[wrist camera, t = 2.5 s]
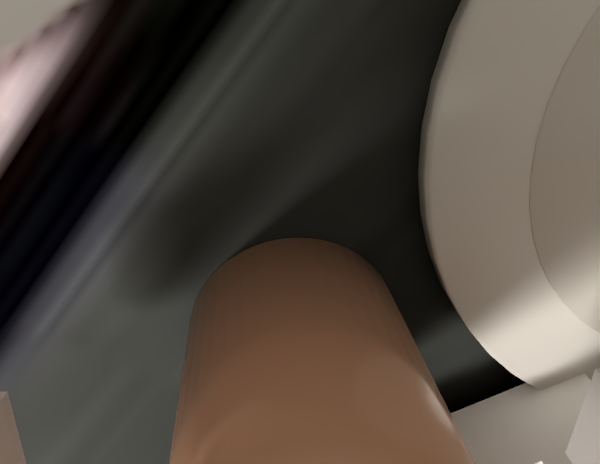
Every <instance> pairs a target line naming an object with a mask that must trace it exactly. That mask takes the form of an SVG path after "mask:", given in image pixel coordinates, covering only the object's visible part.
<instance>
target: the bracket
mask: <svg viewBox="0 0 600 464" xmlns="http://www.w3.org/2000/svg"><path fill="white" fill-rule="evenodd" d="M590 382H591V380H590V379H589V378H588V377H587V376H586V375H585V374H582V375H579V376H577V377H574V378H572V379H569V380H566V381H564V382H561V383H559V384H556V385H553V386H551V387H548V388H546V389H543V390H541V391H540V390H538V389H536V388H535V387H533V386H531V385H530V384H528V383H524V384H522V385H519V386H517V387H514V388H512V389H510V390H507V391H505V392H502V393H500V394H497V395H495V396H492V397H490V398H487V399H485V400H482V401H480V402H477V403H475V404H473V405H470V406H468V407H465V408H463V409H460V410H458V411H455V412H453V413H450V414H451V416H452V418H453V420H454V422H455V424H456V426H457V428H458V430H459V432H460V434H461V436H462V438H463V440H464V442H465V444H466V446H467V448H468V450H469V452H470V454H471V456H472V458H473V460H474V462H475V464H572V462H571V461H570V459H569V458H568V456H567V455H566V454H565V452H566V449H567V447H568V444H569V441H570V438H571V435H572V433H573V430H574V427H575V424H576V421H577V419H578V416H579V413H580V410H581V408H582V405H583V402H584V399H585V396H586V394H587V391H588V388H589V385H590Z"/></svg>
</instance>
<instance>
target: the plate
mask: <svg viewBox="0 0 600 464" xmlns="http://www.w3.org/2000/svg"><path fill="white" fill-rule="evenodd" d="M418 184H419V201H420V215H421V220H422V225H423V230H424V234H425V239H426V244H427V249H428V252H429V255H430V258H431V260H432V263H433V266H434V268H435V271H436V274H437V276H438V279H439V281H440V284H441V285H442V287H443V289H444V291H445V292H446V294H447V296H448V297H449V299H450V301H451V303H452V304H453V306H454V308H455V310H456V311H457V313H458V314H459V316H460V317H461V319H462V320H463V322H464V323H465V325H466V326H467V327H468V329H469V330H470V332H471V333H472V334H473V335H474V336H475V338H476V339H477V340H478V341H479V342H480V344H481V345H482V346H483V347H484V348H485V350H486V351H487V352H488V353H489V354H490V355H491V356H492V357H493V358H494V359H495V360H497V361H498V362H499V363H500V364H501V365H502V366H504V367H505V368H506V369H507V370H508V371H509V372H511V373H512V374H513V375H515V376H516V377H518V378H520V379H521V380H523V381H525V382H526V383H528V384H530V385H531V386H533V387H535V388H536V389H538V390H540V391H541V390H543V389H546V388H548V387H551V386H553V385H556V384H559V383H561V382H564V381H566V380H569V379H572V378H574V377H577V376H579V375H582V374H585V375H586V376H587V377H588V378H589V379H590V380H592V377H593V374H594V371H595V369H600V0H461V1H460V4H459V6H458V8H457V10H456V12H455V15H454V17H453V19H452V21H451V23H450V25H449V28H448V30H447V33H446V36H445V39H444V42H443V45H442V48H441V51H440V54H439V58H438V61H437V64H436V67H435V70H434V73H433V76H432V79H431V83H430V88H429V93H428V98H427V102H426V107H425V112H424V117H423V122H422V127H421V138H420V151H419V164H418Z"/></svg>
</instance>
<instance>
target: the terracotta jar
mask: <svg viewBox="0 0 600 464" xmlns="http://www.w3.org/2000/svg"><path fill="white" fill-rule="evenodd" d="M169 464H475V462H474V460H473V458H472V456H471V454H470V452H469V450H468V448H467V446H466V444H465V442H464V440H463V438H462V436H461V434H460V432H459V430H458V428H457V426H456V424H455V422H454V420H453V418H452V416H451V414H450V412H449V410H448V408H447V406H446V404H445V402H444V400H443V398H442V396H441V394H440V392H439V390H438V388H437V386H436V383H435V381H434V379H433V377H432V375H431V373H430V371H429V369H428V367H427V365H426V363H425V361H424V359H423V357H422V355H421V353H420V351H419V349H418V347H417V345H416V343H415V341H414V339H413V337H412V335H411V333H410V331H409V329H408V327H407V325H406V323H405V321H404V319H403V317H402V315H401V313H400V311H399V309H398V307H397V305H396V303H395V301H394V299H393V297H392V295H391V293H390V291H389V289H388V287H387V285H386V283H385V282H384V280H383V279H382V277H381V275H380V274H379V273H378V272H377V270H376V269H375V268H374V267H373V266H372V265H371V264H370V263H369V262H368V261H366V260H365V259H364V258H363V257H362V256H360V255H358V254H357V253H355V252H354V251H352V250H350V249H348V248H346V247H343V246H341V245H339V244H336V243H332V242H329V241H325V240H320V239H314V238H284V239H278V240H273V241H268V242H265V243H262V244H259V245H255V246H253V247H251V248H249V249H246V250H244V251H242V252H240V253H239V254H237V255H235V256H234V257H232V258H230V259H229V260H228V261H226V262H225V263H224V264H223V265H221V266H220V267H219V268H218V269H217V270H216V271H215V272H214V273H213V274H212V275H211V276H210V277H209V279H208V280H207V281H206V283H205V284H204V285H203V287H202V288H201V290H200V292H199V294H198V296H197V298H196V300H195V303H194V306H193V309H192V314H191V319H190V326H189V332H188V339H187V346H186V352H185V359H184V366H183V373H182V379H181V386H180V393H179V399H178V406H177V413H176V419H175V426H174V433H173V439H172V446H171V453H170V459H169Z"/></svg>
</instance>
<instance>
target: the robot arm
mask: <svg viewBox="0 0 600 464" xmlns="http://www.w3.org/2000/svg"><path fill="white" fill-rule="evenodd" d="M565 454H566V455H567V456H568V458H569V459H570V461H571V462H572V464H600V369H595V371H594V374H593V377H592V380H591V382H590V385H589V388H588V391H587V394H586V396H585V399H584V402H583V405H582V408H581V410H580V413H579V416H578V419H577V421H576V424H575V427H574V430H573V433H572V435H571V438H570V441H569V444H568V447H567V449H566V452H565ZM0 464H26V460H25V457H24V453H23V449H22V445H21V442H20V438H19V434H18V430H17V427H16V423H15V419H14V415H13V412H12V408H11V404H10V400H9V397H8V393H7V392H0Z"/></svg>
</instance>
